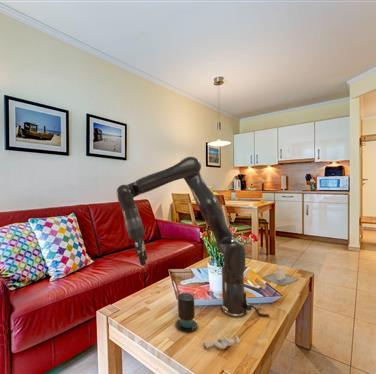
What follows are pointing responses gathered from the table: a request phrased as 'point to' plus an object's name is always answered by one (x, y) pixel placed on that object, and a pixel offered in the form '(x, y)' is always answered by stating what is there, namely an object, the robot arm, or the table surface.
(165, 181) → the robot arm
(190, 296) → the black cylinder
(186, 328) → the green post with base
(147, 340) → the table surface
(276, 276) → the architectural model
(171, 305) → the table surface
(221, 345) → the soldier figure
